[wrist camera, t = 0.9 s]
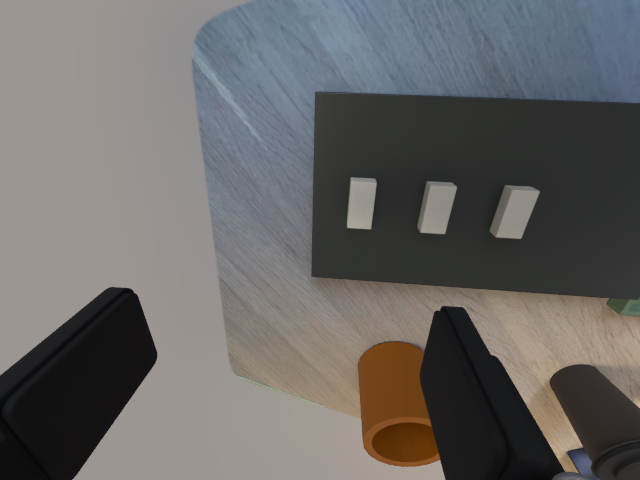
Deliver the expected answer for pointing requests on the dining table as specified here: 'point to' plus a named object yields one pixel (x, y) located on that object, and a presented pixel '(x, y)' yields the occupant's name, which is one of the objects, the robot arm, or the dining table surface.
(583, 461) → the small box
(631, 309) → the chalk tray
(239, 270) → the dining table surface
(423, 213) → the chalk
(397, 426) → the mug
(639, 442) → the coffee cup
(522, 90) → the dining table surface
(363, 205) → the beige block
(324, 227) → the slate board
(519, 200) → the white rectangular block
